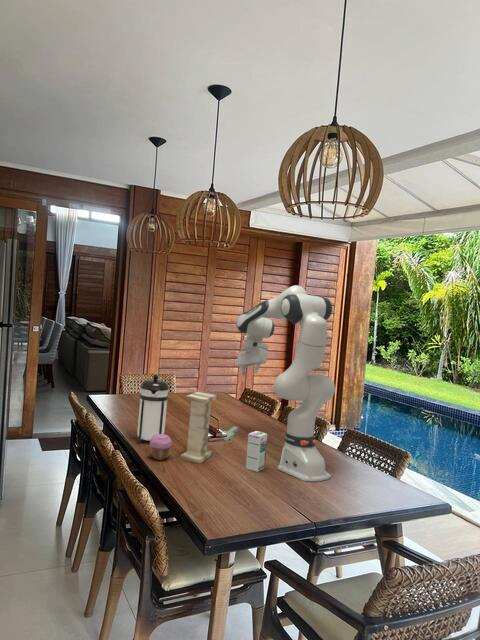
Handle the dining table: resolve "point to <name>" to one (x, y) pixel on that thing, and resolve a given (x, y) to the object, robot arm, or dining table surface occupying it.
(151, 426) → the coffee press
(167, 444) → the cupcake
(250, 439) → the syrup box
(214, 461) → the dining table surface
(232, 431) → the spatula
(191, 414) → the stand
